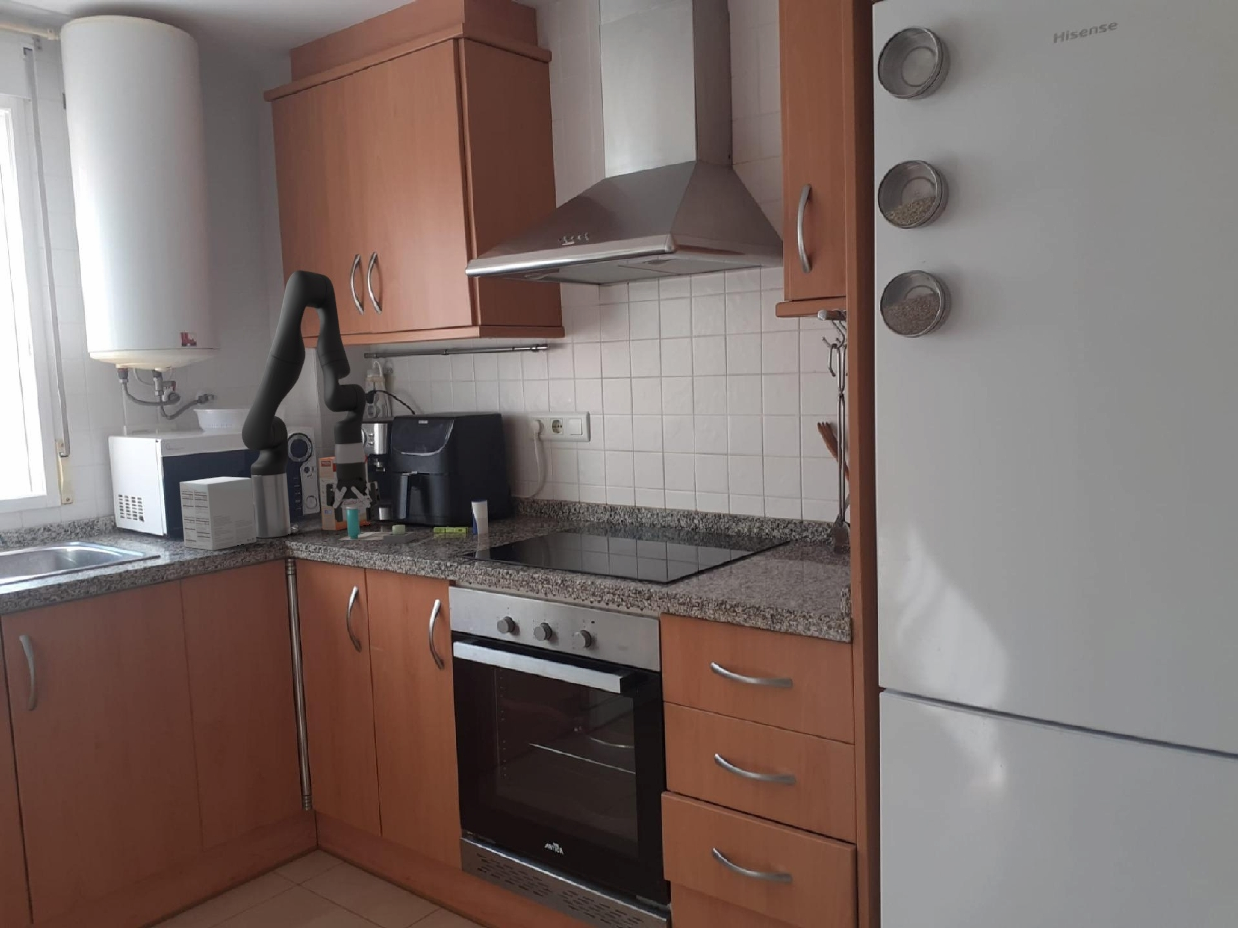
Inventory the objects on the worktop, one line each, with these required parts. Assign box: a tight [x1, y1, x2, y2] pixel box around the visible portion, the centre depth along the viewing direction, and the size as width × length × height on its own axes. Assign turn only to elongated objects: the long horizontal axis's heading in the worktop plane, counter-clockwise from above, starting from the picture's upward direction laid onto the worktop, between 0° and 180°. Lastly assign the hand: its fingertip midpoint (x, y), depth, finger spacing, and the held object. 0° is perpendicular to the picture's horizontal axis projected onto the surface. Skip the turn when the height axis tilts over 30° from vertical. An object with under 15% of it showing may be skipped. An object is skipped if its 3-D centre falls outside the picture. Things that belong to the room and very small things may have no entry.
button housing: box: [382, 531, 416, 544], centre depth 253 cm, size 6×6×2 cm
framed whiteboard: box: [337, 531, 392, 541], centre depth 263 cm, size 16×13×1 cm
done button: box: [391, 524, 406, 535], centre depth 253 cm, size 3×3×3 cm
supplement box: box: [179, 476, 257, 551], centre depth 261 cm, size 13×13×18 cm
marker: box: [346, 505, 361, 539], centre depth 259 cm, size 3×3×9 cm
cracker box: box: [318, 454, 371, 531], centre depth 281 cm, size 14×6×21 cm, turn 152°
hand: (355, 521), depth 259 cm, fingers open, 8 cm apart
